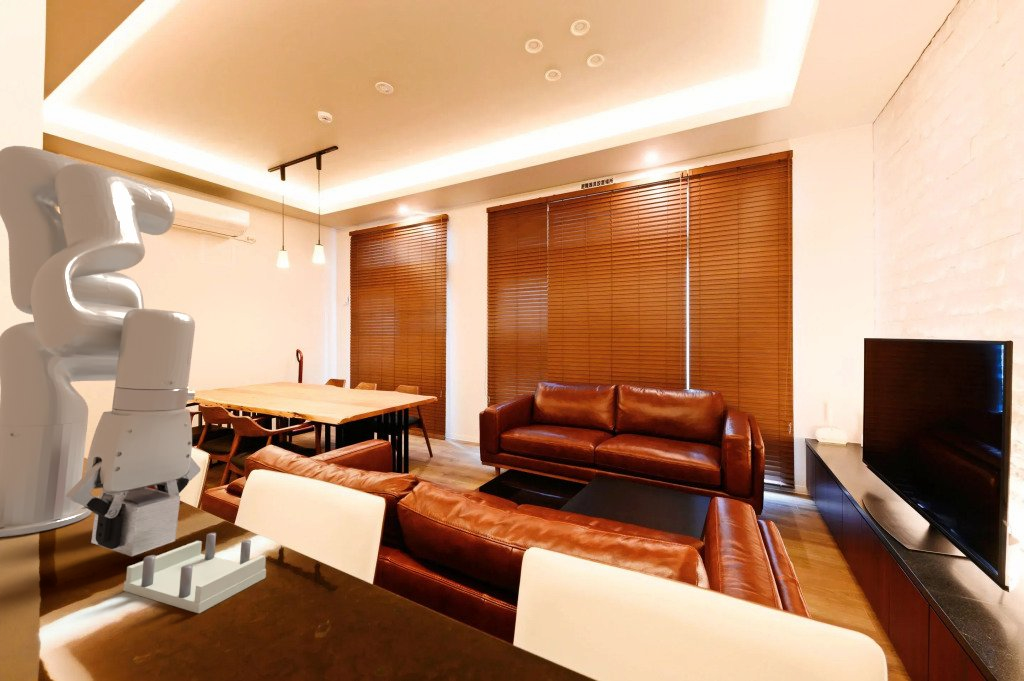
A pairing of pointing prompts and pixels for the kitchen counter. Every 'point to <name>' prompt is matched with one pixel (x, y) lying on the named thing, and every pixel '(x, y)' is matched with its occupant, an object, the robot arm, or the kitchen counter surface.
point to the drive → (145, 521)
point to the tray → (194, 575)
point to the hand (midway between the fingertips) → (134, 536)
